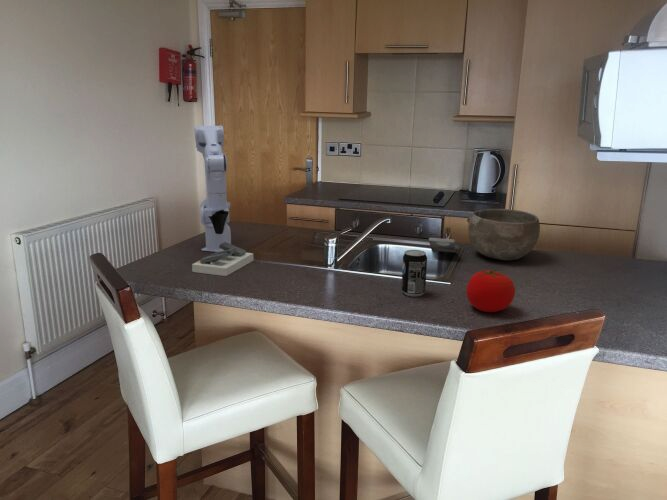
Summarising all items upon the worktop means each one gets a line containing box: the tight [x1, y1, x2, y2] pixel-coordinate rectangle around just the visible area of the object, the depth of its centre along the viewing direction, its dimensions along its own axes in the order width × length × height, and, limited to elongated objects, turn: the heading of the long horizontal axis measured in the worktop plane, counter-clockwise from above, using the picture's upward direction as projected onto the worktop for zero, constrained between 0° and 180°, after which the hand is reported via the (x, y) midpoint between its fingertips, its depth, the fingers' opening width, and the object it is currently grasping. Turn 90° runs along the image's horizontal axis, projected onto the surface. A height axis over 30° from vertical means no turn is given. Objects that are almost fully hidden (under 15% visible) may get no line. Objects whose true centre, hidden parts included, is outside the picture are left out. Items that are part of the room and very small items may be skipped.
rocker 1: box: [199, 252, 228, 263], centre depth 172 cm, size 4×8×1 cm, turn 71°
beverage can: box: [401, 249, 428, 298], centre depth 153 cm, size 7×7×12 cm
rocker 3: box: [219, 242, 247, 257], centre depth 182 cm, size 4×8×1 cm, turn 71°
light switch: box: [428, 237, 457, 253], centre depth 191 cm, size 8×6×14 cm
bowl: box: [466, 208, 541, 262], centre depth 190 cm, size 24×24×15 cm
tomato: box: [465, 270, 516, 313], centre depth 142 cm, size 11×12×10 cm
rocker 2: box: [208, 248, 236, 256], centre depth 177 cm, size 4×8×1 cm, turn 71°
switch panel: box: [191, 250, 254, 277], centre depth 178 cm, size 18×12×3 cm, turn 161°
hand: (219, 233), depth 180 cm, fingers closed
